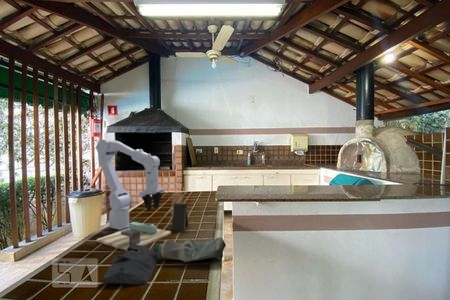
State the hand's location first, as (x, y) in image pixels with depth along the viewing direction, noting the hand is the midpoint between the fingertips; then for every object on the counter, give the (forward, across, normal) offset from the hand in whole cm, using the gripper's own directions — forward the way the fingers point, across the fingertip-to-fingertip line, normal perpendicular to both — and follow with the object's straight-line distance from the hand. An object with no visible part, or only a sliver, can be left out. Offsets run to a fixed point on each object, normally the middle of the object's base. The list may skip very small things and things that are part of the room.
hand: (152, 209), depth 119 cm
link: (+8, -6, -1) cm, 10 cm away
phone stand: (+10, +8, -10) cm, 16 cm away
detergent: (+10, -16, -36) cm, 40 cm away
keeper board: (+9, -12, -2) cm, 15 cm away
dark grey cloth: (+10, -31, -24) cm, 40 cm away
